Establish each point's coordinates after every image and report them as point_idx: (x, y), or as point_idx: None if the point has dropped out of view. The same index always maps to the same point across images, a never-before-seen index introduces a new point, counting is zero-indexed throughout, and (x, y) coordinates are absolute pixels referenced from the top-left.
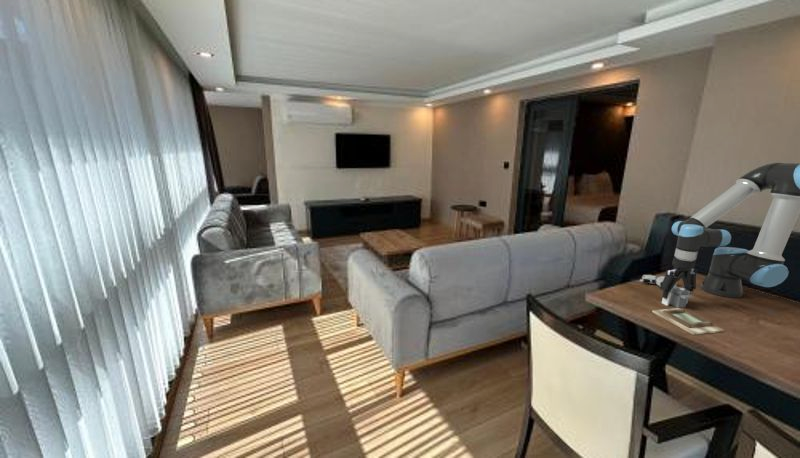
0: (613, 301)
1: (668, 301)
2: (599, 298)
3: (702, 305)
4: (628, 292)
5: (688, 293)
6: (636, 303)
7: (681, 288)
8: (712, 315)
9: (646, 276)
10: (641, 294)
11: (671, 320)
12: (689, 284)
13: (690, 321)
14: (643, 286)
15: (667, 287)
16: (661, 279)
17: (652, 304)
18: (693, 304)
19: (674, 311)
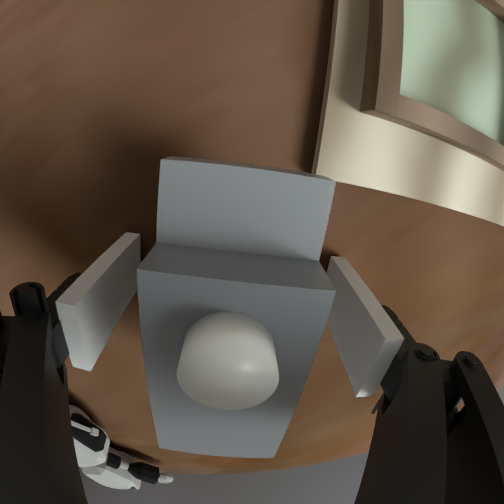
0: (498, 354)
1: (353, 276)
2: (500, 377)
3: (32, 188)
4: (345, 429)
5: (157, 249)
6: (459, 328)
7: (267, 372)
8: (130, 26)
9: (128, 487)
10: (304, 412)
11: None
12: (24, 396)
13: (460, 23)
14: (181, 452)
15: (479, 393)
16: (78, 458)
17: (404, 303)
18: (75, 217)
19: (479, 132)
